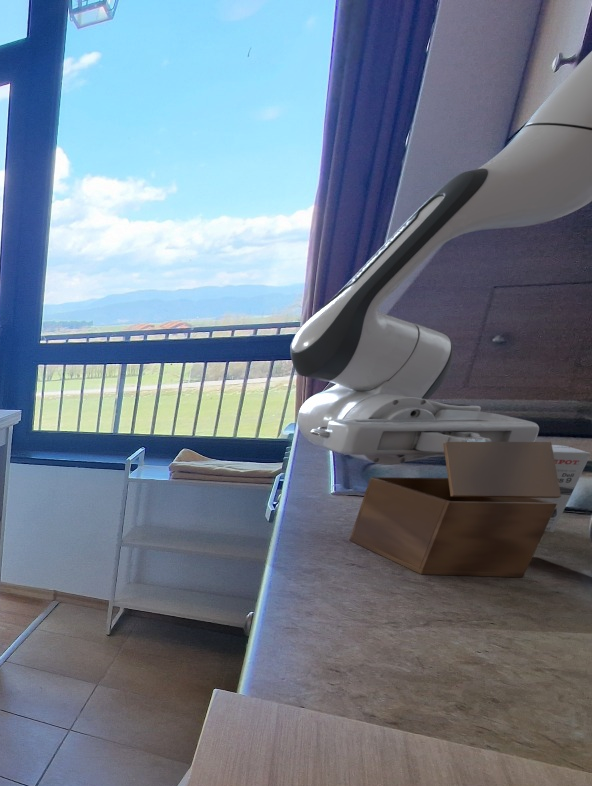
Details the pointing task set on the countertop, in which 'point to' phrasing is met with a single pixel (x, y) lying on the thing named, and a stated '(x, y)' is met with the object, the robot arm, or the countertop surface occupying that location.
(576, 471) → the ink box
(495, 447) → the flap
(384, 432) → the robot arm
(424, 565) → the carton
